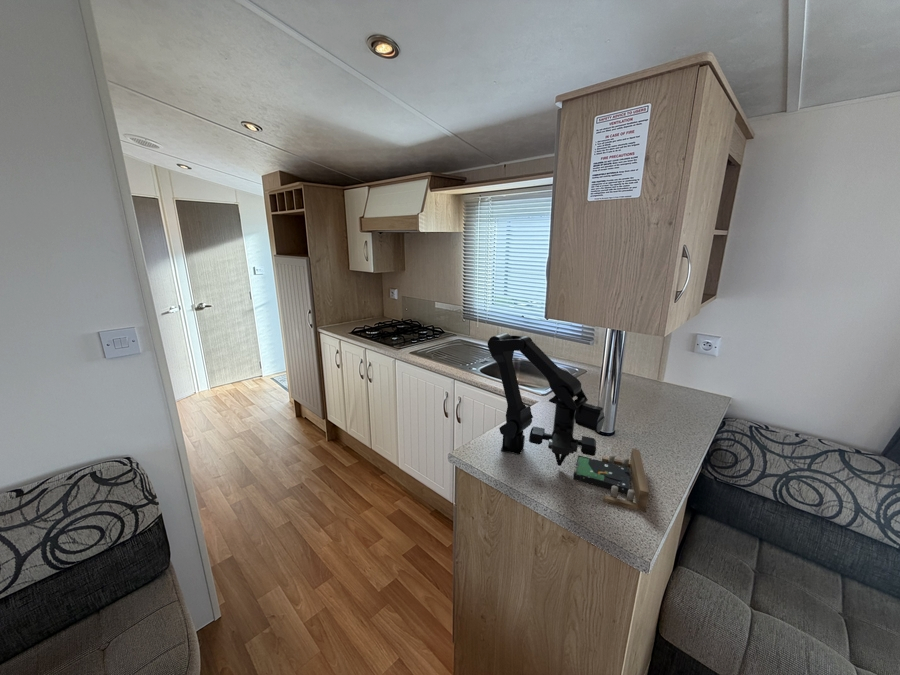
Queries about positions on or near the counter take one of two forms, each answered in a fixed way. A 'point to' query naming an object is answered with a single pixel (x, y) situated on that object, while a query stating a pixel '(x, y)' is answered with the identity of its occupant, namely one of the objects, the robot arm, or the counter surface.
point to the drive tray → (637, 480)
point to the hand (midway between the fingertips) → (559, 464)
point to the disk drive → (602, 474)
